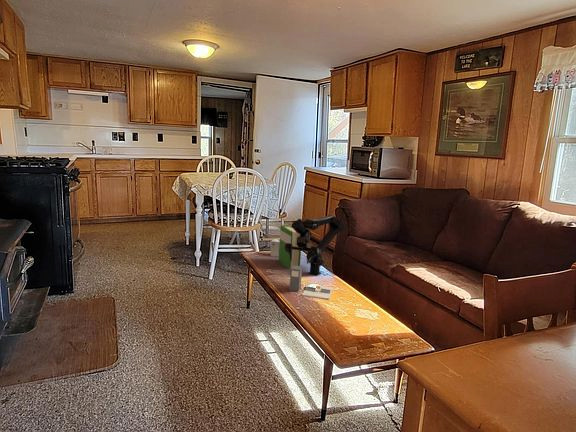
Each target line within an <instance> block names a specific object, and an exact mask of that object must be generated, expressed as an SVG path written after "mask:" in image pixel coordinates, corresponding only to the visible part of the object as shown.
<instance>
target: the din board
mask: <svg viewBox="0 0 576 432" xmlns="http://www.w3.org/2000/svg"><path fill="white" fill-rule="evenodd" d="M309 285H311V284H307V285H306V287H308V286H309ZM320 286H321V289H328V290H331V292H330V293H324V292H321V289H316V290H315V291H309V290H306V287H305V289H304V291H303V292H302V294H301V295H302V296H303V297H308V298H317V299H322V300H323V299H324V300H331V299H330V298H331V296H332V293H333V289H334V287H330V286H323V285H320Z"/></svg>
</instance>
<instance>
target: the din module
mask: <svg viewBox="0 0 576 432" xmlns="http://www.w3.org/2000/svg"><path fill="white" fill-rule="evenodd" d="M302 275H303V266H301V265H300V266H294V265H293V266H292V268H290V275H289V278H290V279H289V291H294V292H299V291H300V289H301V287H302Z"/></svg>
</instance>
